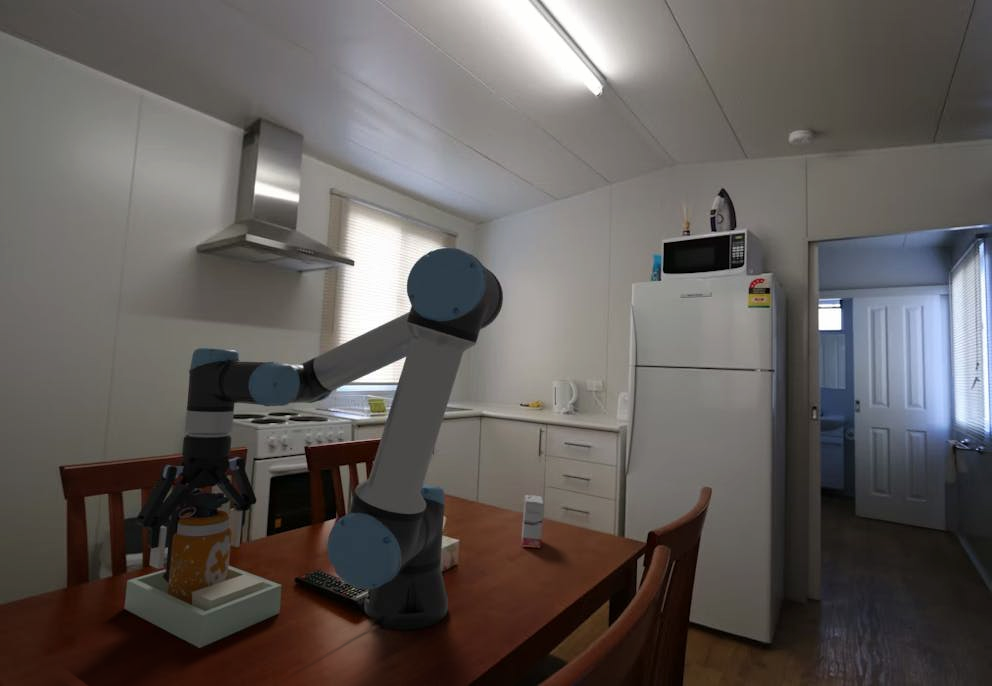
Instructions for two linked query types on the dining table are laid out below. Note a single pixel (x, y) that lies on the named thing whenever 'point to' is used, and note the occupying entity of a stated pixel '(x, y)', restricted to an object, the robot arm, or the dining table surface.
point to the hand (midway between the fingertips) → (197, 555)
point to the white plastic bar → (225, 592)
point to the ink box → (532, 520)
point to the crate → (193, 623)
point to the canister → (197, 545)
